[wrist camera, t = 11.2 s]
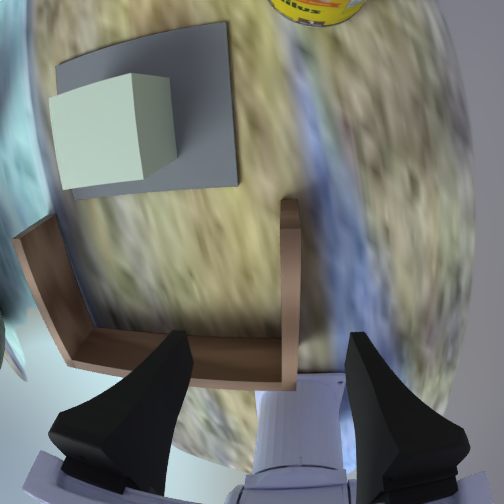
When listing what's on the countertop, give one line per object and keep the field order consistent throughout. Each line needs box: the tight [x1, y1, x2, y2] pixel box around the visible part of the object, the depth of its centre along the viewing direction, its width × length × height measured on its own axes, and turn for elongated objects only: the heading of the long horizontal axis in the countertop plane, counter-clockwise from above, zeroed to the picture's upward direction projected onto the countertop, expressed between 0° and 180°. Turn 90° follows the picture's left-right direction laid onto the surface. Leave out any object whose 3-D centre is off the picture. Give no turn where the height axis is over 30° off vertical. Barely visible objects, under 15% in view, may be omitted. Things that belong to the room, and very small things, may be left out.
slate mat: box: [55, 22, 238, 200], centre depth 17 cm, size 10×12×1 cm
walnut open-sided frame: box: [12, 200, 301, 391], centre depth 21 cm, size 12×19×4 cm, turn 94°
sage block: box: [49, 73, 178, 190], centre depth 15 cm, size 5×5×5 cm
